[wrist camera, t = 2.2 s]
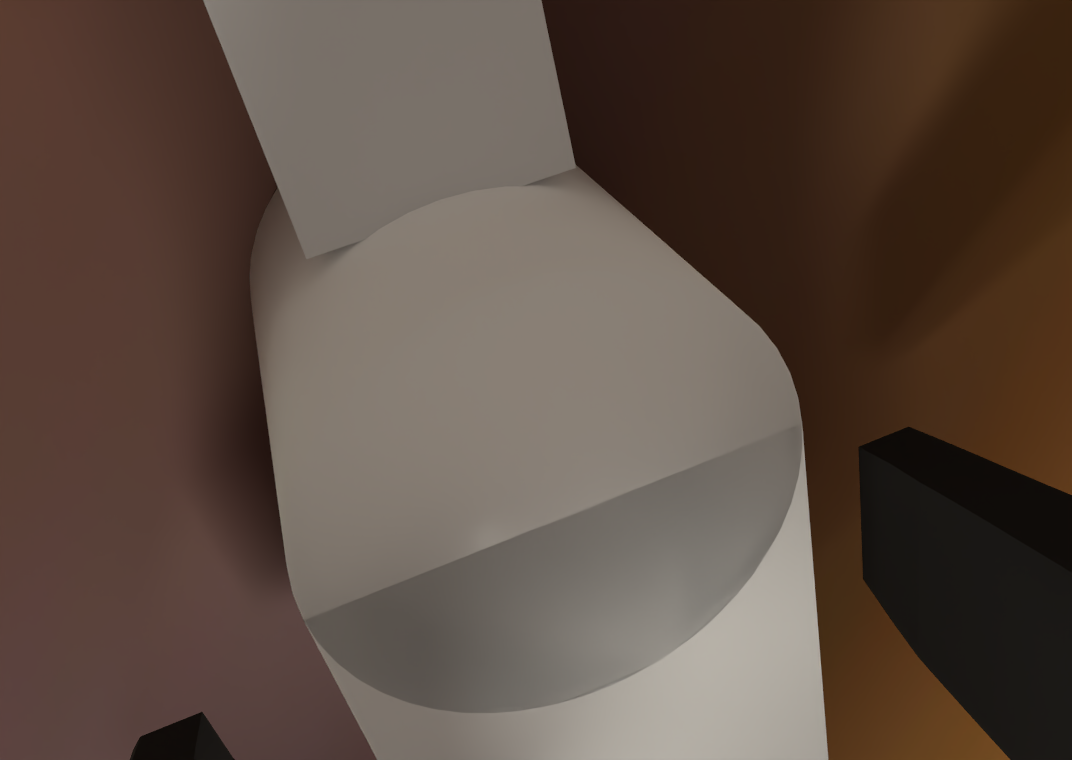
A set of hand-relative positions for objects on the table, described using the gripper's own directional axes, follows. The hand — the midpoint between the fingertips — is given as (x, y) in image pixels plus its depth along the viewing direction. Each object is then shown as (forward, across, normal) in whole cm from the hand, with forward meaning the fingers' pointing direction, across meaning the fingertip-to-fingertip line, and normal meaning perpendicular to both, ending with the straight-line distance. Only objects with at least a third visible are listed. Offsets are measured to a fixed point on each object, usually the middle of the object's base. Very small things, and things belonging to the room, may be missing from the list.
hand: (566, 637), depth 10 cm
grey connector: (+2, 0, -1) cm, 2 cm away
